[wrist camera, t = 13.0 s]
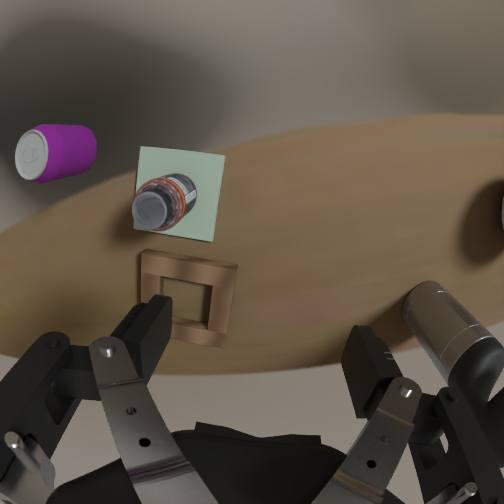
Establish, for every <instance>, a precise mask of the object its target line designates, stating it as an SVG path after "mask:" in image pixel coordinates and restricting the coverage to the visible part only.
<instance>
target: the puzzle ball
mask: <svg viewBox="0 0 504 504" xmlns="http://www.w3.org/2000/svg"><path fill="white" fill-rule="evenodd" d="M502 224H503V229H504V197H503V202H502Z"/></svg>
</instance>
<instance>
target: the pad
mask: <svg viewBox="0 0 504 504" xmlns="http://www.w3.org/2000/svg"><path fill="white" fill-rule="evenodd" d="M225 157H226V156H224V155H217V154H210V153H202V152H194V151H185V150H176V149H165V148H155V147H143V146H141V149H140V156H139V164H138V174H137V184H136V192H137V191H138V189H139V188H140V187H141V186H142V185H143V184H144V183H146V182H147V181H149V180H152V179H155V178H158V177H161V176H165V175H168V174H173V173H179V174H183V175H185V176H187V177H189V178H190V179H191V180H192V181H193V183H194V184H195V186H196V190H197V200H196V203H195V205H194V207H193V208H192V210H191V211H190V212H189V213H188V214H187V215H185V216H184V217H183V218H182V219H181V220H180V221H179V222H178V223H177V224H176V225H175V226H174V227H172V228H170V229H168V230H165V231H153V230H148V229H144V228H142V227H140V226H139V225H138V224H137V223H136V222H135V220H134V229H138V230H144V231H150V232H156V233H162V234H168V235H174V236H180V237H186V238H192V239H198V240H204V241H210V242H213V238H214V230H215V223H216V216H217V209H218V202H219V195H220V189H221V182H222V176H223V169H224V163H225Z"/></svg>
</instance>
